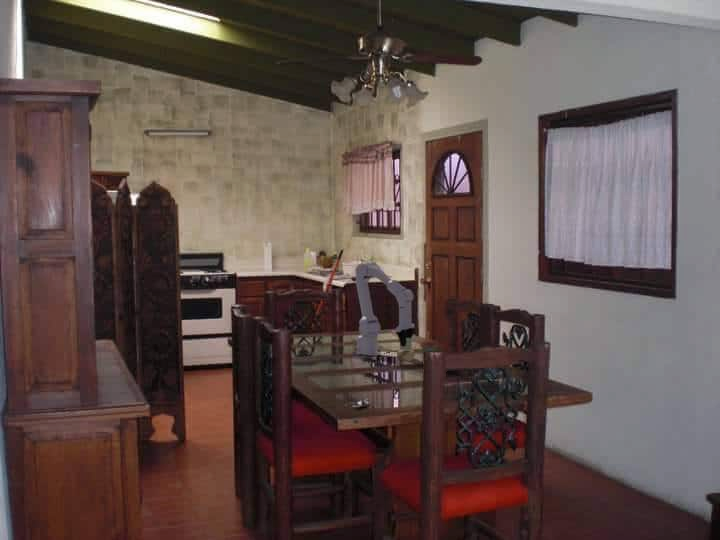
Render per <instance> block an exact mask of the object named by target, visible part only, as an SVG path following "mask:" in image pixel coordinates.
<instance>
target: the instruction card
mask: <svg viewBox="0 0 720 540" xmlns="http://www.w3.org/2000/svg"><path fill="white" fill-rule="evenodd" d="M380 352H381V353H380V354H377V355H376V356H378V355H381V356H380V357H396V358H397V352H398V351H397V352H396V351H394V352H393V351H389V352H390V353H386V352H387V351H380ZM384 353H385V354H384Z"/></svg>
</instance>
